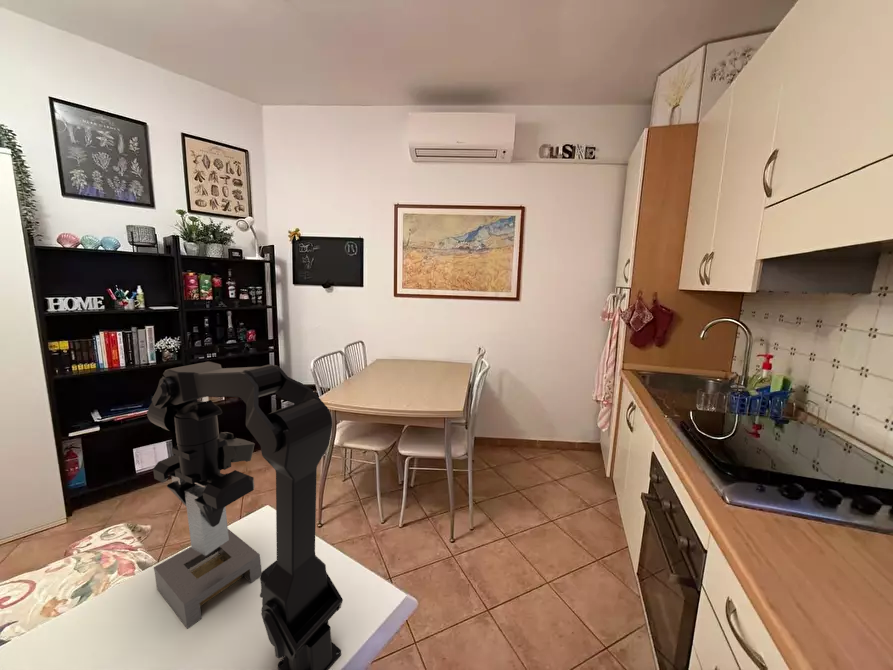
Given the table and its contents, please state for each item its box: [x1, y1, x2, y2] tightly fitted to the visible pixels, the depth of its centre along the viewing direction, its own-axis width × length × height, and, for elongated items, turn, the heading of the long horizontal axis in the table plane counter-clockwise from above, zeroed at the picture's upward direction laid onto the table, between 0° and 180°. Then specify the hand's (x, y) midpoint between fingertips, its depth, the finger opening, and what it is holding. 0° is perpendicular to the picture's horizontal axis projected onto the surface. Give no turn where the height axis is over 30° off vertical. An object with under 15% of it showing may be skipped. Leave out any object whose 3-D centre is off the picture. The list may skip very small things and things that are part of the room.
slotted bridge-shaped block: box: [153, 528, 262, 629], centre depth 63 cm, size 13×12×4 cm
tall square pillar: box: [185, 485, 229, 556], centre depth 60 cm, size 4×4×11 cm
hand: (207, 521), depth 60 cm, fingers closed on tall square pillar, 4 cm apart
